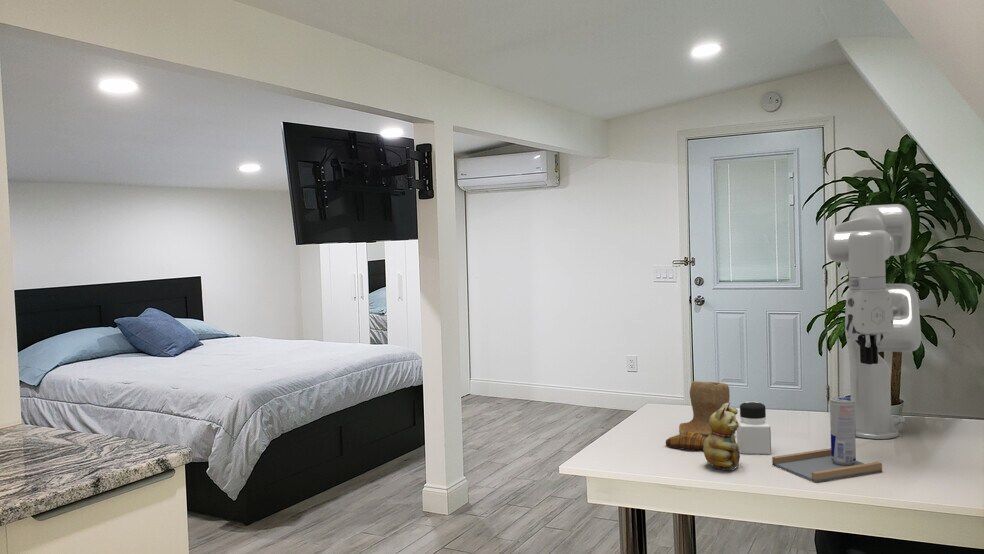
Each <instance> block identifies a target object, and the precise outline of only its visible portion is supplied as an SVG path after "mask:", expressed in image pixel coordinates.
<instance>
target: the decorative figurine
mask: <svg viewBox="0 0 984 554" xmlns="http://www.w3.org/2000/svg"><path fill="white" fill-rule="evenodd" d="M730 405H731V403H730V402H729V403H725V404H723V405H722V407H721V408H720V409H719V410H717V412H714V413H713V414H712V415H711V416H710V419H709V425H710V427H711V429H712V430H711V431H710V435H709V436H708V437H707V438H706V440H705V443H704V448H703V450H702V451H703V455H704V458H705V460H706V462H707V463H709V464H710V465H711V468H712V469H718V470H722V469H723V470H724V471H729V470H732V471H733V469H734V470H735V469H736V468H737V467H738V466H739V465H738V464H739V463H740V458H741V452H740V450H739V445H738V444H737V440H736V438H735V437H734V435H733V433H734V432H735V433H736V432H737V428H738V425H739V424H738V422H737V418H736V415H737V414H738V411H739V410H738V409H737V408H736V407H734V406H730ZM737 465H738V466H737ZM736 466H737V467H736ZM735 467H736V468H735ZM723 470H722V471H723Z"/></svg>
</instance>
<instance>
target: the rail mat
mask: <svg viewBox="0 0 984 554" xmlns="http://www.w3.org/2000/svg"><path fill="white" fill-rule="evenodd" d="M771 464H772V466H773V465H774V466H773V467H775V466H776V468H778V469H780V468H781V469H780V470H782V471H785V470H786V472H788V473H790V474H793V475H796V476H798V477H800V478H803V479H805V480H807V481H810V482H813V483H814V484H815V483H816V484H819V483H822V482H829V481H830V482H831V481H837V480H841V479H849V478H854V477H859V476H860V477H861V476H866V475H873V474H878V473H879V474H880V473H883V463H882V462H881V461H875V462H874V461H873V462H867V463H865V462H861V461H858V460H856V461H855V462H854V463H853V464H852V465H839V464H836V463H835V462H834V461H833V460H832V459H831V447H830V448H823V449H817V450H810V451H808V450H807V451H804V452H796V453H789V454H782V455H776V456H774V455H773V456H772V457H771Z"/></svg>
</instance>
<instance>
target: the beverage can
mask: <svg viewBox="0 0 984 554" xmlns="http://www.w3.org/2000/svg"><path fill="white" fill-rule="evenodd" d="M829 400H830V402H829V410H830V411H829V413H830V415H829V417H830V448H831V459H832V460H833V461H834V462H835V463H836V464H839V465H852V464H853V463H854V462H855V461H857V456H856V455H857V453H856V451H857V449H856V436H855V403H854V399H851V397H846V396H845V397H844V396H839V397H838V396H836V397H831V398H830V399H829Z"/></svg>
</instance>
